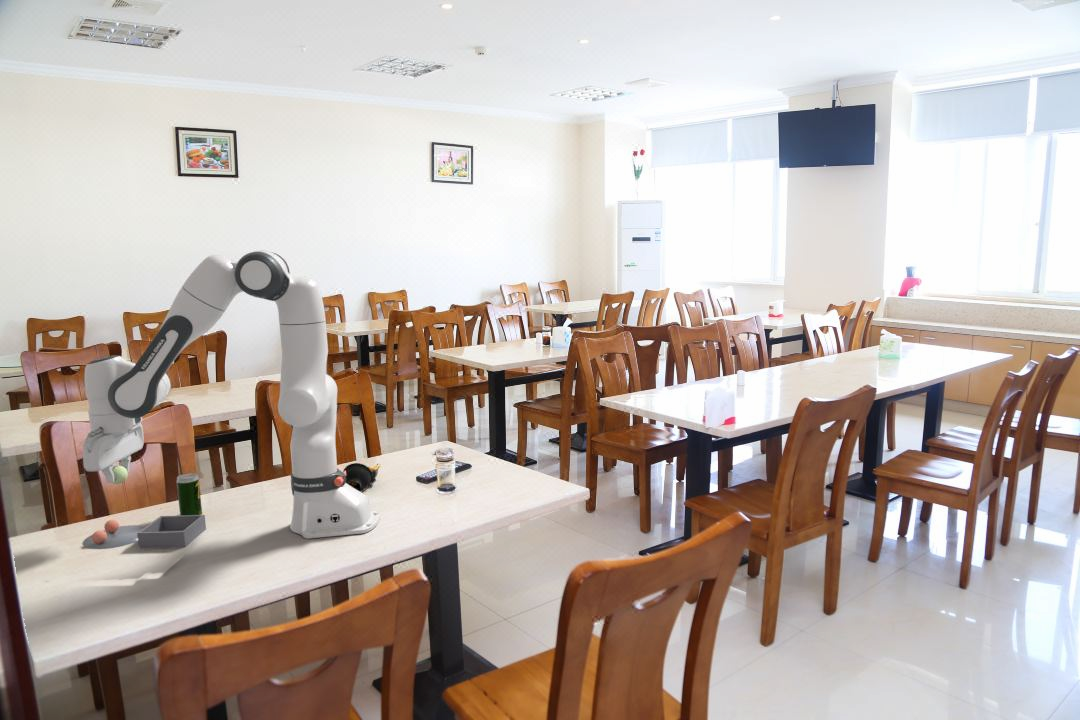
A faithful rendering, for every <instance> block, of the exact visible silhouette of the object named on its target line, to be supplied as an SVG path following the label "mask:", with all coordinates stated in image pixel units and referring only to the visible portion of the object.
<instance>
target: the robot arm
mask: <svg viewBox="0 0 1080 720" xmlns="http://www.w3.org/2000/svg"><path fill="white" fill-rule="evenodd" d="M320 289H321V288H320V287H319V284H318V283H317V281H315V280H313V279H312V278H308V277H306V276H293V275H292V274H291V273H290V269H289V265H288V263H287V261H286V260H285V259H284V258H283V257H282V256H281V255H279V254H278V253H275V252H272V251H268V250H255V251H251V252H249V253H248V252H247V253H245V255H243V256H241V258H240V259H239V260H238V261H234V260H232V259H230V258H229V257H227V256H224V255H219V254H212V255H209V256H207V257H206V258H204V259H203V260H202V261H201V262H200V263H199V264H198V265H197V266H196V267H195V268H194V270H193V271H191V273H190V275H189V276H188V277H187V279H186V280H185V281H184V283H183V284H182V286H181V288H180V289H179V290H178V292H177V294H176V296H175V298H174V300H173V302H172V304H171V306H170V308H169V310H168V311H167V314H166V316H165V318H164V320H163V321H162V323H161V326H160V327H159V330H158V332H157V333H156V334H155V336H154V338H153V339H152V340H151V342H150V343H149V344H148V346H147V347H146V349H145V350H144V352H143V353H142V355H141V357H140V358H139V359H138V361H137V362H136V363H134V362H132V361H129V360H127V359H125V358H124V357H122V356H121V355H116V354H114V355H107V356H103V357H100V358H97V359H94V360H91V361H89V362H88V363H87V364H86V365H85V368H84V390H85V396H86V399H87V402H88V404H89V405H88V411H87V412H88V413H87V414H88V419H89V427H90V428H89V429H90V431H89V432H88V433H87V436H86V438H85V440H84V442H83V446H82V461H83V468H84V469H85V471H86V472H100V471H101V472H102V473H103V475H104V476H105V482H106V483H107V484H108V483H111V484H113V483H112V482H114V481H116V479H117V478H116V474H114V473H113V471H112V468H113V467H114V466H113V465H114V464H115V463H118V462H119V461H120V466H122V467H124V468H125V469H126V470H127V472H128V474H129V473H130V464H131V460H132V456H131V455H133V454H134V453H137V452H138V451H140V450H142V449H143V446H144V443H145V439H144V438H145V437H144V428H143V424H142V422H143V417H144V416H146V415H148V414H149V413H150V412H151V411H152V410H153V409H154V408H155V407H156V406H158V405H159V404H160V403H162V402H163V401H164V400H165V399H166V398H167V397H168V396H169V395H170V393H171V390H172V389H171V388H172V383H171V382H172V381H171V379H170V377H169V376H168V374H167V372H168V371H169V369H170V367H172V365H173V363H174V362H175V360H176V359H177V358H178V356H179V355H180V354H181V352H182V351H184V349H185V348H186V347H188V346H189V345H190V344H192V343H193V342H194V341H195V340H197V339H199V338H200V337H202V336H203V335H205V334H206V333H208V332H209V331H210V330H211V329H212V328H213V327H214V326H215V325H216V324H217V322H219V321H220V319H221V318H222V317H223V315H224V313H225V312H226V310H227V309H228V307H229V306H230V304H231V303H232V301H233V300H234V298H235V297H236V296H237V295H239V293H242V292H244V294H247V295H249V296H251V297H253V298H254V297H255V298H259V299H261V300H262V299H264V300H267V301H271V302H275V304H276V307H277V312H278V324H279V334H280V346H281V347H280V348H281V370H280V378H279V379H280V381H279V383H280V384H279V399H278V402H277V410H278V411H277V412H278V415H279V416H280V418H281V419H282V420H283V422H285V423H286V424H287V425H289V426H292V430H291V431H292V433H291V437H290V438H291V439H290V445H289V448H290V449H289V450H290V461H291V471H292V473H291V474H290V477H291V478H290V486H291V487H290V490H291V493H292V496H293V504H292V506H293V507H292V517H291V522H290V526H289V529H290V531H291V532H293V533H295V534H299V535H301V536H302V538H305V539H316V538H318V539H319V538H326V537H327V538H328V537H337V536H345V535H346V536H348V535H349V536H350V535H358V534H359V535H360V534H365V533H368V532H370V531H371V530H373V529H374V528H376V527H377V526H378V524H379V522H380V519H381V515H380V513H379V511H378V510H374V509H372V508H371V504H370V502H369V499H368V496H367V495H366V494H365V493H363V492H362V491H359V490H356V489H355V488H353V487H351V486H350V485H348V484H347V483H346V477H345V476H346V470H345V471H344V472H343V470H341V469H339V468H338V462H337V461H338V460H337V449H336V447H337V445H336V430H337V412H338V409H337V408H338V391H339V390H338V389H339V388H338V386H337V383H336V381H335V379H334V378H333V377H332V376H330V375H329V374H327V362H328V354H329V347H328V346H329V344H328V343H329V342H328V332H327V320H326V319H327V318H326V312H325V311H326V310H325V305H324V301H323V297H322V296H323V295H322V292H321V290H320Z"/></svg>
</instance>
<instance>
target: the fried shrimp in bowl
mask: <svg viewBox="0 0 1080 720" xmlns="http://www.w3.org/2000/svg"><path fill="white" fill-rule="evenodd" d="M380 468H381V464H380V463H377V464H376V465H374V467H371V466H367V465H365V464H363V463H359V462H354V463H350V464H348V465H346V466H345V468H344V469H343V470H342V472H344V471H345V470H346V476H345V477H346V483H347V484H348V485H350V486H351V487H353V488H355V489H356V490H358V491H360V492H362V491H363V490H364V489H366V488H367V487H371V485H373V484H374V483H375V482H376V481H377V479H376V477H377V476H378V474H379V469H380Z"/></svg>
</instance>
